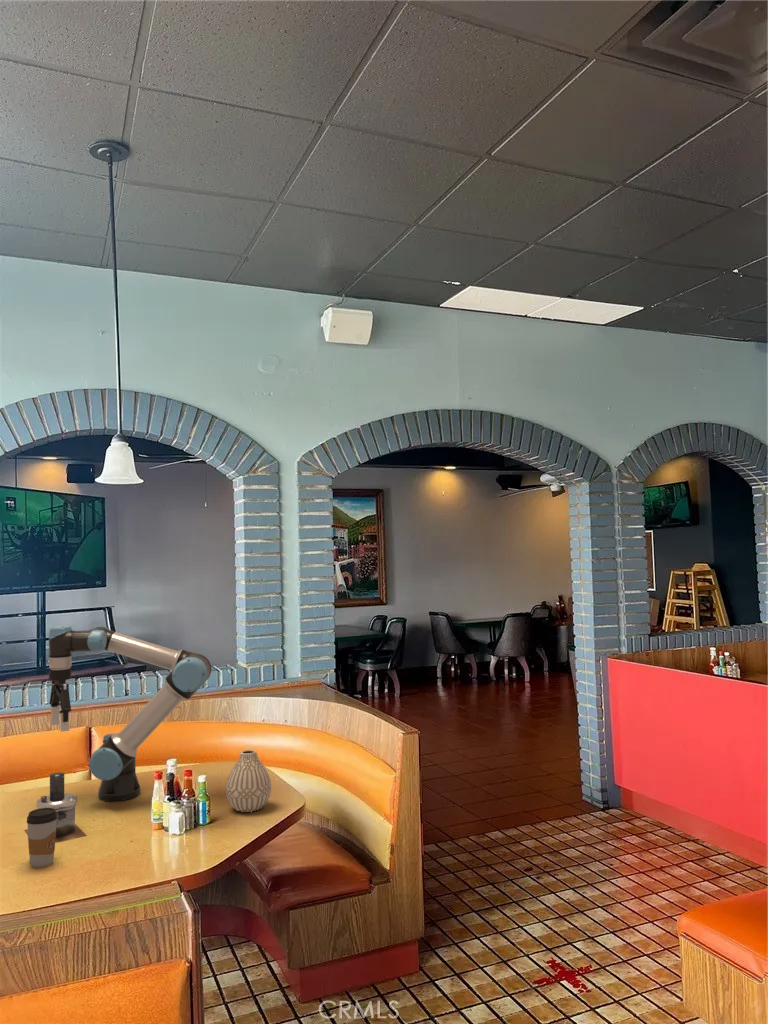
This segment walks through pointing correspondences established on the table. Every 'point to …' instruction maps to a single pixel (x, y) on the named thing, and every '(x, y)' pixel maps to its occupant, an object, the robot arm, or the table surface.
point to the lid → (57, 794)
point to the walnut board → (75, 834)
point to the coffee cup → (41, 836)
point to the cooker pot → (65, 821)
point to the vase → (248, 783)
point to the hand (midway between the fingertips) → (59, 727)
